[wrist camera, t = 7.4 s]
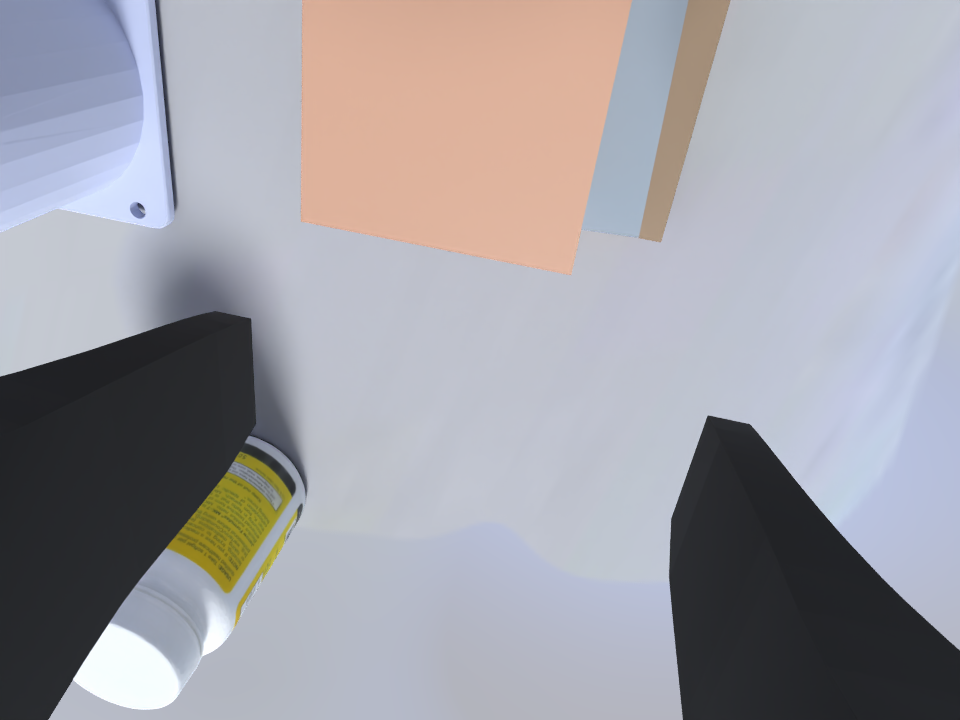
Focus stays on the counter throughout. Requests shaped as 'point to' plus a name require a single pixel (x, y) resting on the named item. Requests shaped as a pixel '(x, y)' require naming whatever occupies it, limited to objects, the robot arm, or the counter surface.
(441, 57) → the terracotta block
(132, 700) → the supplement bottle
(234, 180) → the counter surface
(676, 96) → the walnut base block
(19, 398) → the robot arm
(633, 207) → the slate middle block
